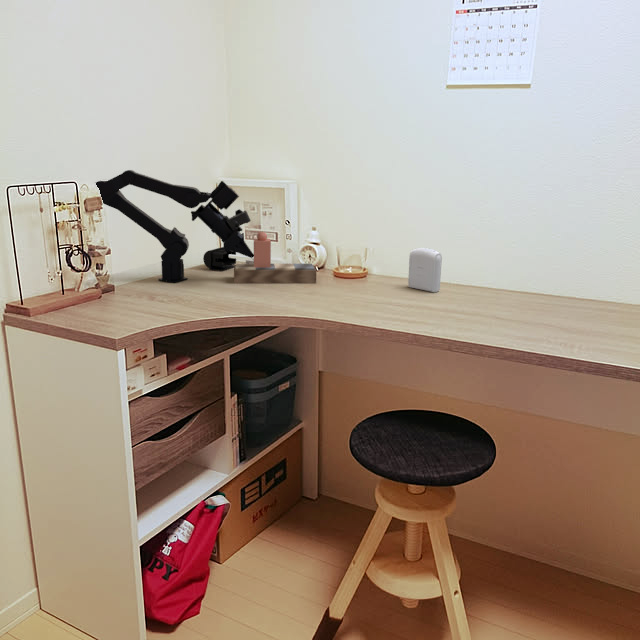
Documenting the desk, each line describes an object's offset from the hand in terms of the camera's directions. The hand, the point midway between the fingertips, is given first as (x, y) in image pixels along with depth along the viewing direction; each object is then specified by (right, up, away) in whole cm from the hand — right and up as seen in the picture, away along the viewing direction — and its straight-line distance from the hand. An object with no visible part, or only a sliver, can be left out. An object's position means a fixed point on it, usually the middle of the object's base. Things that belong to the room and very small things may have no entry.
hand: (253, 256), depth 199 cm
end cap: (-13, -2, +20) cm, 24 cm away
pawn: (+3, -3, +1) cm, 4 cm away
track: (+6, -7, +3) cm, 10 cm away
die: (-1, -4, +14) cm, 15 cm away
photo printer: (+52, -10, -5) cm, 53 cm away
